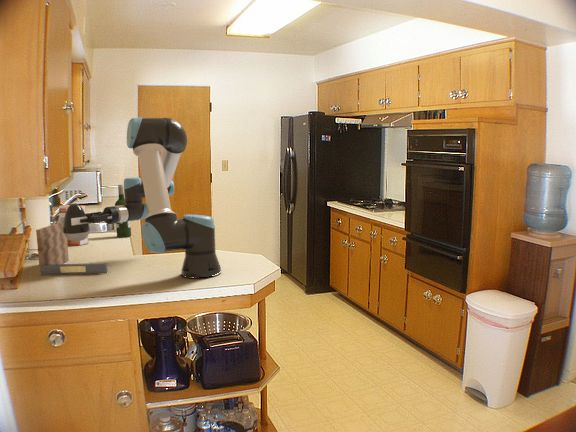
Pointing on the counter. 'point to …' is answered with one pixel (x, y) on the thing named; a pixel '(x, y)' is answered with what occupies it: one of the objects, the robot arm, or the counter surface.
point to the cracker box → (62, 213)
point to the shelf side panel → (52, 245)
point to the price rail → (73, 269)
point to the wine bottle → (125, 227)
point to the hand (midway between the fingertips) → (65, 221)
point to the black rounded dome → (75, 231)
